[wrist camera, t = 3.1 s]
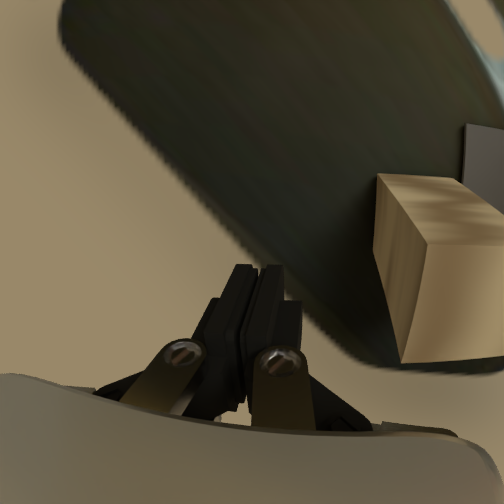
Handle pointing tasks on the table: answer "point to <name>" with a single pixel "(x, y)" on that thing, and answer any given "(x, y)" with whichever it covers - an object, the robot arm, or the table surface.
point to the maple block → (440, 268)
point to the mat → (484, 164)
